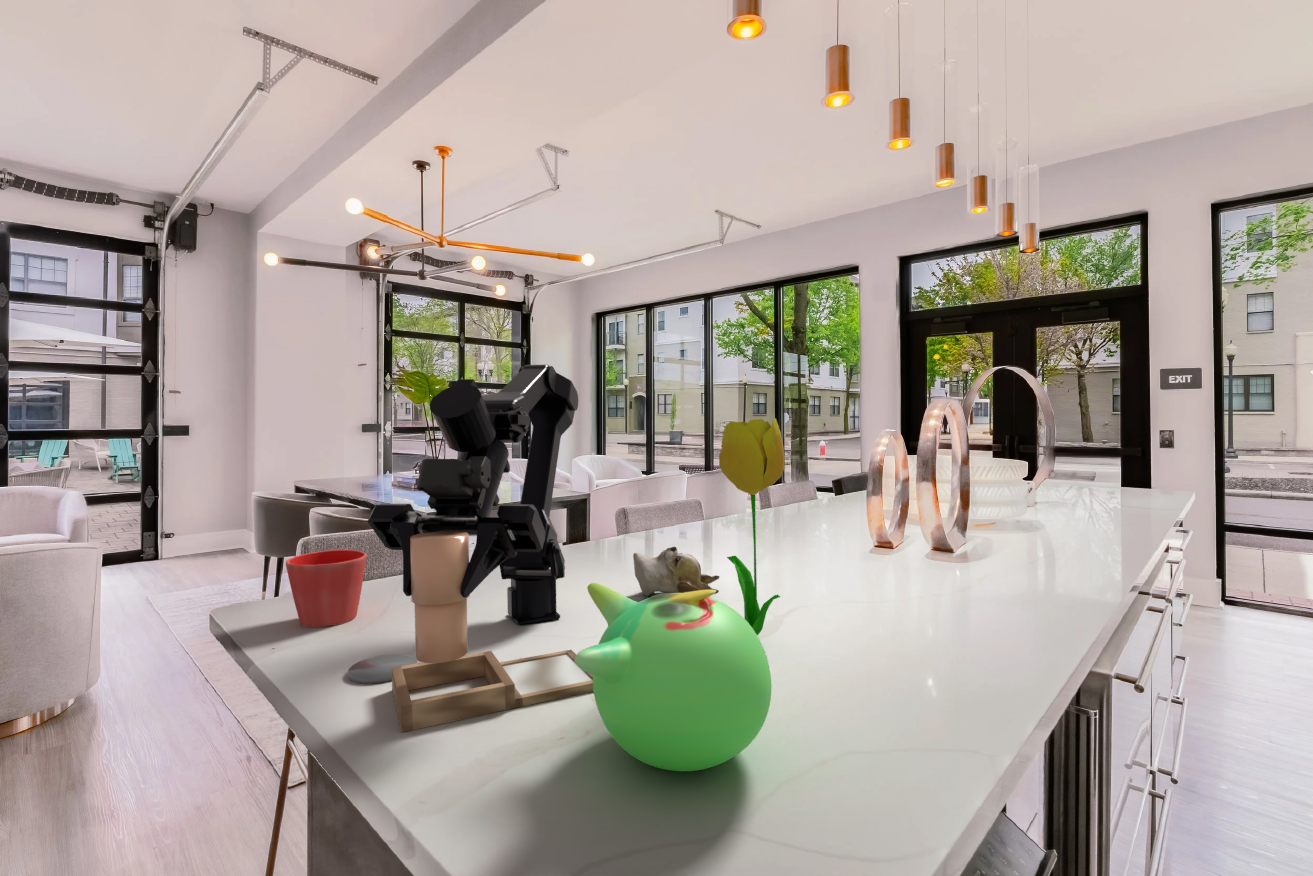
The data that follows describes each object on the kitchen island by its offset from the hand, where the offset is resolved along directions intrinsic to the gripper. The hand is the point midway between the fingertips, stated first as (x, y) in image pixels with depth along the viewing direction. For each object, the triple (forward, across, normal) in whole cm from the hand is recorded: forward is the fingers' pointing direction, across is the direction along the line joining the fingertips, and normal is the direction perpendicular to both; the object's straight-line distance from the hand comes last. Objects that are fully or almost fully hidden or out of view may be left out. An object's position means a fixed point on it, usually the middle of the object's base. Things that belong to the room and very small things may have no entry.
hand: (434, 594), depth 65 cm
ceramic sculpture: (-24, +21, +41) cm, 52 cm away
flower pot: (-11, -31, +28) cm, 43 cm away
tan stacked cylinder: (+4, 0, +6) cm, 7 cm away
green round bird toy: (+13, +25, +5) cm, 29 cm away
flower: (-8, +33, +26) cm, 43 cm away
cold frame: (+5, +4, +12) cm, 14 cm away
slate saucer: (+2, -11, +15) cm, 19 cm away
